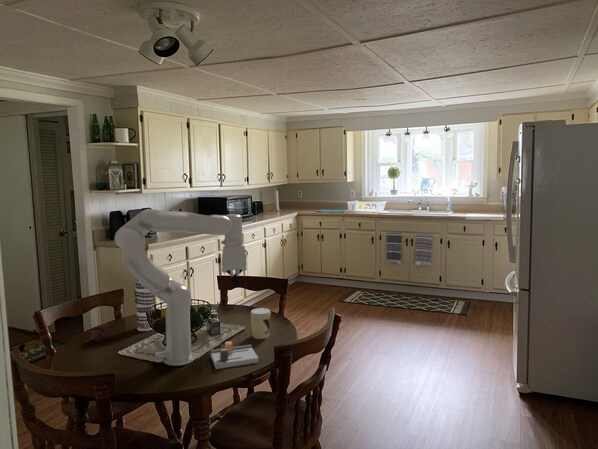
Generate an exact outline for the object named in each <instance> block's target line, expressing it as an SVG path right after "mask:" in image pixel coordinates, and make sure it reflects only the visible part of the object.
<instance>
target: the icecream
mask: <svg viewBox="0 0 598 449" xmlns="http://www.w3.org/2000/svg"><path fill="white" fill-rule="evenodd" d="M108 327H109V325H108V324H107V323H106V324H103V325H102V326H95V327H94V328H92V329H91V330H89V331H90V332H89V333H90V338H89V340H90V341H94V342H96V343H102V342H103V341H104V340H105V339H106V338H107V336H108V330H107V329H108Z"/></svg>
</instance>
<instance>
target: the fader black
mask: <svg viewBox="0 0 598 449" xmlns="http://www.w3.org/2000/svg"><path fill="white" fill-rule="evenodd" d="M219 349H220V359H221V361H222V362H224V361H228V351H227V349H226V348H225V347H224V349H223V348H219Z"/></svg>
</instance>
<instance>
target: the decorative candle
mask: <svg viewBox="0 0 598 449" xmlns="http://www.w3.org/2000/svg"><path fill="white" fill-rule="evenodd" d="M134 283H135V289H134V290H133V292H134V293H133V294H134V299H135V300H134V302H135V307H136V315H135V317H136V318H135V320H136V322H135V323H136V327H137V328H136V330H137V331H140V332H147V331H151V330H153V329H152V328H151V327H150V326H149V323H148V321H147V315H146V311H147V310H149V309H150V310H154V311H155V309H154V304H155V302H154V301H155V299H154V297H155V295H154V294H152V293H151V292H150V291H148V290H147V289H146V288H145V287H143V286H142V285H141V284H140V283H139V281H138V279H137V278H136V281H134Z"/></svg>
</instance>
